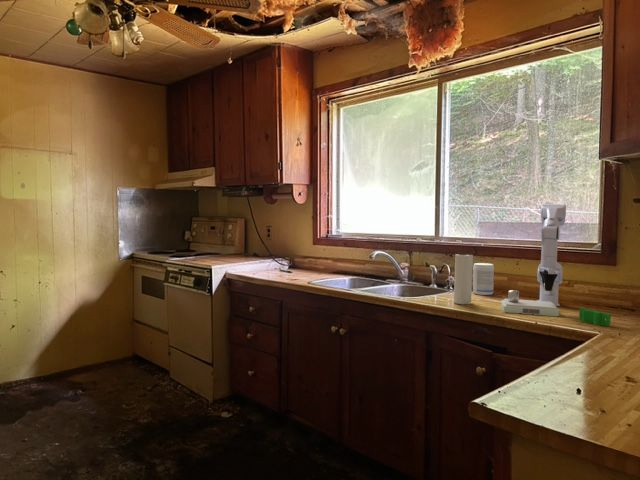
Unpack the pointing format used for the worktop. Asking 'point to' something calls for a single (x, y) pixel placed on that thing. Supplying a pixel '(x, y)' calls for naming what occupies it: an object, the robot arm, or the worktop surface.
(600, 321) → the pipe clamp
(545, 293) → the spacer
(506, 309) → the scale
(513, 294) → the spacer
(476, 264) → the supplement tub
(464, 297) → the paper towel roll
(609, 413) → the worktop surface
